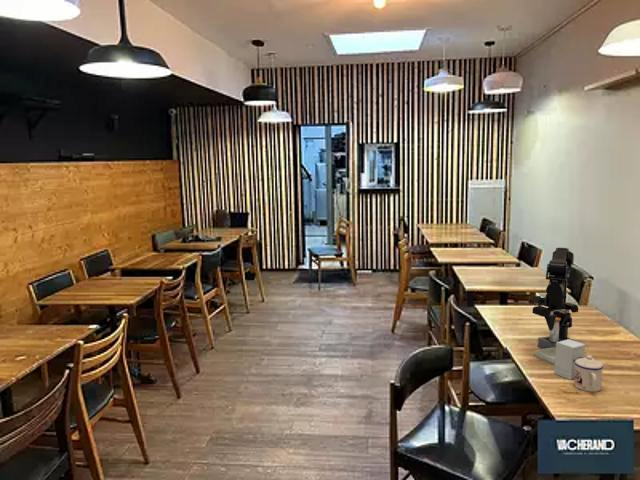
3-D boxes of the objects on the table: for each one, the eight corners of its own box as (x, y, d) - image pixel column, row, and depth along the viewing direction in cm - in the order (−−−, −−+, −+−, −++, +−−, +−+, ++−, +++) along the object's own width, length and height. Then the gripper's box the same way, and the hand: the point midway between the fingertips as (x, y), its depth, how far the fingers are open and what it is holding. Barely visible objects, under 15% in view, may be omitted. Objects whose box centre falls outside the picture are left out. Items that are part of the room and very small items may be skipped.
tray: (553, 352, 217) (553, 347, 217) (572, 361, 208) (572, 355, 208) (534, 356, 214) (534, 350, 214) (552, 364, 205) (553, 358, 204)
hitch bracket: (552, 344, 228) (552, 335, 227) (566, 350, 220) (566, 341, 220) (537, 346, 225) (538, 337, 225) (551, 352, 218) (552, 343, 217)
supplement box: (570, 380, 190) (572, 347, 188) (553, 373, 196) (555, 341, 195) (583, 376, 193) (585, 344, 191) (566, 369, 200) (568, 338, 198)
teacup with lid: (570, 381, 189) (572, 350, 188) (597, 382, 188) (599, 352, 186) (579, 395, 178) (581, 363, 176) (608, 397, 176) (610, 364, 174)
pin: (554, 338, 213) (555, 314, 212) (562, 341, 209) (563, 317, 207) (545, 339, 212) (546, 315, 210) (553, 342, 207) (554, 318, 206)
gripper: (559, 286, 218) (557, 321, 220) (523, 290, 212) (522, 326, 214) (580, 292, 208) (578, 329, 210) (543, 296, 201) (541, 334, 204)
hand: (554, 329), depth 210 cm, fingers closed on pin, 4 cm apart
